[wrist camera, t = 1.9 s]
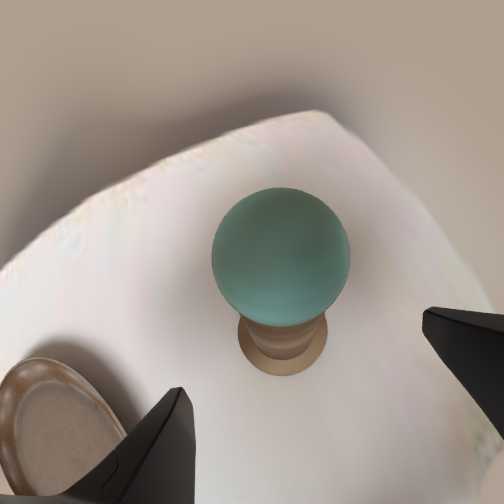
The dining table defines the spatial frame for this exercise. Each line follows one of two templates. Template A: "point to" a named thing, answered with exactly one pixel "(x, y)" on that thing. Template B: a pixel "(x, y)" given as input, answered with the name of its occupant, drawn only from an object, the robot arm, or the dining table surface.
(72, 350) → the dining table surface
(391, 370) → the dining table surface
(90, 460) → the plant saucer
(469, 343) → the robot arm
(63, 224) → the dining table surface
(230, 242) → the bead column
